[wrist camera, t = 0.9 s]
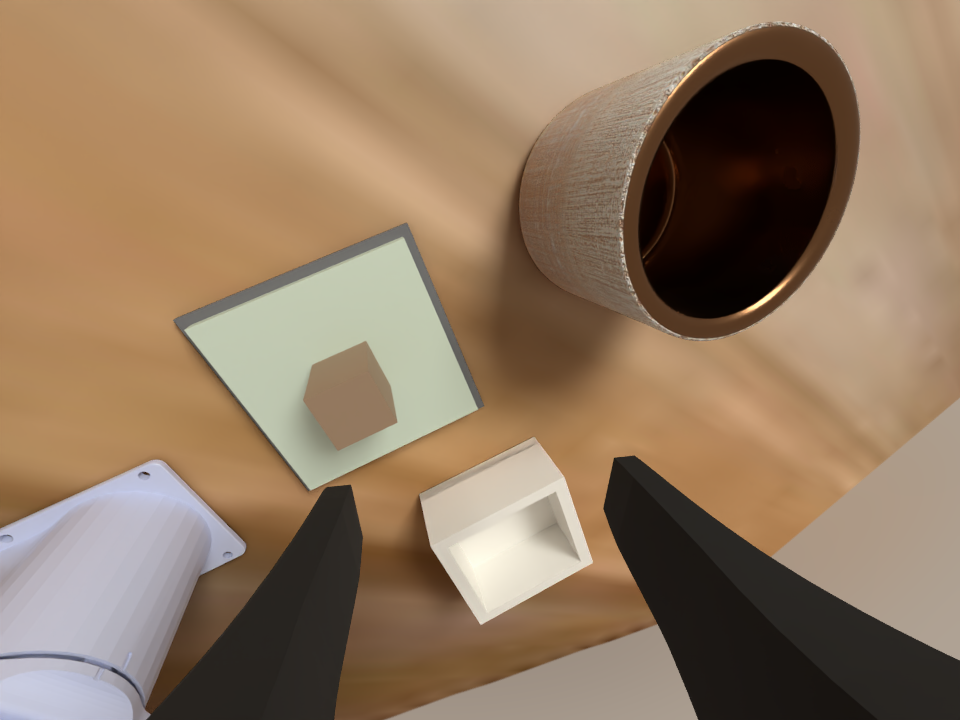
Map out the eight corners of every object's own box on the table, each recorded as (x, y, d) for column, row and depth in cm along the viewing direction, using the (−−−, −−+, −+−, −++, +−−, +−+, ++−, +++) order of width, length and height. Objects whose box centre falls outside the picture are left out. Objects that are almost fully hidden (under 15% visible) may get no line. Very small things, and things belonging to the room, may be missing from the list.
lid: (312, 481, 24) (302, 544, 19) (190, 325, 19) (141, 363, 14) (474, 403, 25) (499, 446, 21) (402, 236, 20) (414, 247, 16)
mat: (309, 486, 24) (308, 491, 24) (176, 318, 19) (173, 320, 18) (482, 403, 25) (484, 405, 25) (406, 222, 20) (407, 223, 20)
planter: (703, 212, 25) (883, 220, 16) (577, 327, 25) (688, 392, 17) (630, 40, 20) (835, -77, 11) (474, 188, 20) (560, 182, 12)
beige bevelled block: (464, 569, 31) (480, 624, 27) (419, 494, 27) (430, 546, 23) (563, 516, 32) (592, 562, 28) (534, 436, 28) (564, 476, 24)
